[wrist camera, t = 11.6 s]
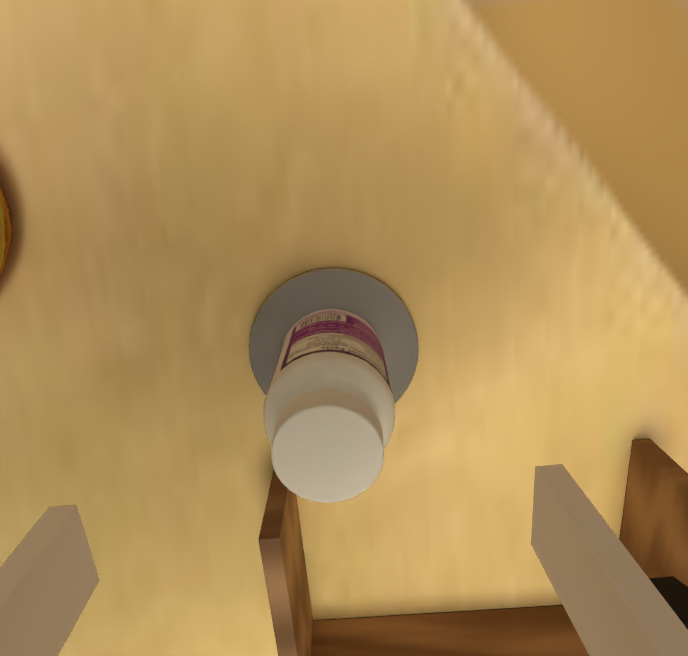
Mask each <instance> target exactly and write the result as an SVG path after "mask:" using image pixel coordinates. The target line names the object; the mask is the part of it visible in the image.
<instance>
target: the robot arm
mask: <svg viewBox="0 0 688 656" xmlns="http://www.w3.org/2000/svg"><path fill="white" fill-rule="evenodd" d="M531 545H532V547H533V549H534V551H535V552H536V554H537V556H538V558H539V560H540V562H541V564H542V566H543V568H544V570H545V572H546V574H547V576H548V577H549V579H550V581H551V583H552V585H553V587H554V589H555V591H556V593H557V595H558V597H559V599H560V600H561V602H562V604H563V606H564V608H565V610H566V612H567V614H568V616H569V618H570V620H571V622H572V624H573V625H574V627H575V629H576V631H577V633H578V635H579V637H580V639H581V641H582V643H583V645H584V647H585V648H586V650H587V652H588V654H589V656H688V587H687V586H686V585H685V584H683V583H682V582H680V581H679V580H678V579H676V578H675V577H674V576H669V577H657V578H648V577H647V575H646V574H645V573H644V571H643V570H642V569H641V567H640V566H639V565H638V563H637V562H636V561H635V560H634V558H633V557H632V556H631V554H630V553H629V552H628V550H627V549H626V548H625V546H624V545H623V544H622V542H621V541H620V540H619V538H618V537H617V536H616V534H615V533H614V532H613V531H612V529H611V528H610V527H609V525H608V524H607V523H606V521H605V520H604V519H603V517H602V516H601V515H600V513H599V512H598V511H597V509H596V508H595V507H594V506H593V504H592V503H591V502H590V500H589V499H588V498H587V496H586V495H585V494H584V492H583V491H582V490H581V488H580V487H579V486H578V484H577V483H576V482H575V480H574V479H573V478H572V477H571V475H570V474H569V473H568V471H567V470H566V469H565V467H564V466H563V465H562V464H559V465H547V466H535V481H534V499H533V517H532V535H531ZM98 581H99V577H98V574H97V570H96V567H95V564H94V561H93V558H92V554H91V551H90V548H89V545H88V542H87V538H86V535H85V532H84V529H83V526H82V522H81V519H80V516H79V513H78V510H77V506H76V505H67V506H55V507H49V508H48V509H47V510H46V512H45V513H44V514H43V515H42V517H41V518H40V519H39V520H38V522H37V523H36V524H35V525H34V526H33V528H32V529H31V530H30V531H29V533H28V534H27V535H26V536H25V538H24V539H23V540H22V541H21V543H20V544H19V545H18V546H17V548H16V549H15V550H14V551H13V552H12V554H11V555H10V556H9V557H8V559H7V560H6V561H5V562H4V564H3V565H2V566H1V567H0V656H58V654H59V652H60V651H61V649H62V647H63V645H64V643H65V641H66V640H67V638H68V636H69V634H70V632H71V631H72V629H73V627H74V625H75V623H76V621H77V620H78V618H79V616H80V614H81V612H82V611H83V609H84V607H85V605H86V603H87V601H88V600H89V598H90V596H91V594H92V592H93V591H94V589H95V587H96V585H97V583H98Z"/></svg>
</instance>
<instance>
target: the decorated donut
mask: <svg viewBox="0 0 688 656" xmlns="http://www.w3.org/2000/svg"><path fill="white" fill-rule="evenodd" d="M5 200H6V199H5V198H4V196H3V191H2V188H1V187H0V274H1V273H2V271H3V268H4V265H5V261H6V258H7V254H8V250H9V246H10V238H11V223H10V217H9V210H10V209H8V205H7V203H6V202H5Z"/></svg>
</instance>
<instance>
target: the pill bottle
mask: <svg viewBox="0 0 688 656" xmlns="http://www.w3.org/2000/svg"><path fill="white" fill-rule="evenodd" d="M263 416H264V426H265V430H266V433H267V436H268V438H269V440H270V442H271V444H272V445H271V459H272V465H273V468H274V470H275V473H276V475H277V477H278V478H279V479H280V481H281V482H282V483H283V484H284V485H285V486H286V487H287V488H288V489H289V490H290V491H291V492H293V493H295V494H296V495H298V496H299V497H301V498H304V499H306V500H309V501H314V502H320V503H335V502H342V501H345V500H348V499H351V498H354V497H356V496H358V495H359V494H361V493H362V492H364V491H365V490H366V489H368V488H369V486H371V485H372V484H373V482H374V481H375V480H376V478H377V477H378V475H379V473H380V471H381V468H382V465H383V459H384V448H385V446H386V445H387V443H388V441H389V439H390V437H391V434H392V431H393V427H394V422H395V403H394V397H393V393H392V389H391V385H390V380H389V375H388V371H387V367H386V362H385V357H384V353H383V349H382V346H381V343H380V340H379V338H378V336H377V334H376V332H375V331H374V330H373V328H372V327H371V326H370V325H369V324H368V322H366V321H365V320H364V319H362V318H361V317H359V316H358V315H356V314H354V313H351V312H348V311H345V310H339V309H323V310H318V311H315V312H313V313H311V314H308V315H306V316H304V317H303V318H301V319H300V320H299V321H297V322H296V323H295V324H294V325H293V326H292V328H291V329H290V330H289V332H288V333H287V335H286V337H285V340H284V342H283V345H282V348H281V351H280V354H279V358H278V361H277V364H276V368H275V371H274V374H273V377H272V380H271V383H270V386H269V389H268V391H267V394H266V398H265V402H264V412H263Z"/></svg>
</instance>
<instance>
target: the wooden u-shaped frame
mask: <svg viewBox="0 0 688 656" xmlns="http://www.w3.org/2000/svg"><path fill="white" fill-rule="evenodd" d="M620 541H621V542H622V544H623V545H624V546H625V548H626V549H627V550H628V552H629V553H630V554H631V556H632V557H633V558H634V560H635V561H636V562H637V563H638V565H639V566H640V567H641V569H642V570H643V571H644V573H645V574H646V575H647V577H648V578H657V577H669V576H674V577H675V578H676V579H678V580H679V581H680V582H682V583H683V584H685V585H686V586H687V587H688V473H687V472H685V471H684V470H683V469H682V468H681V467H680V466H679V465H678V464H677V463H676V462H675V461H674V460H672V459H671V458H670V457H669V456H668V455H667V454H666V453H665V452H664V451H663V450H662V449H661V448H659V447H658V446H657V445H656V444H655V443H654V442H653V441H652V440H651V439H643V440H633V443H632V450H631V458H630V465H629V473H628V481H627V488H626V496H625V503H624V511H623V518H622V526H621V534H620ZM259 545H260V551H261V557H262V562H263V568H264V574H265V580H266V586H267V592H268V597H269V603H270V609H271V615H272V621H273V627H274V632H275V638H276V644H277V650H278V656H589V654H588V652H587V650H586V648H585V647H584V645H583V643H582V641H581V639H580V637H579V635H578V633H577V631H576V629H575V627H574V625H573V624H572V622H571V620H570V618H569V616H568V614H567V612H566V610H565V608H564V606H563V605H561V606H545V607H529V608H512V609H496V610H480V611H464V612H447V613H431V614H415V615H398V616H382V617H366V618H350V619H333V620H317V621H313V618H312V610H311V603H310V596H309V588H308V581H307V573H306V566H305V558H304V551H303V544H302V536H301V529H300V521H299V514H298V507H297V499H296V494H295V493H293V492H291V491H290V490H289V489H288V488H287V487H286V486H285V485H284V484H283V483H282V482H281V481H280V479H279V478H278V477H277V475H276V473H275V470H274V472H273V476H272V481H271V485H270V490H269V495H268V499H267V504H266V508H265V513H264V517H263V522H262V526H261V531H260V535H259Z"/></svg>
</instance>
